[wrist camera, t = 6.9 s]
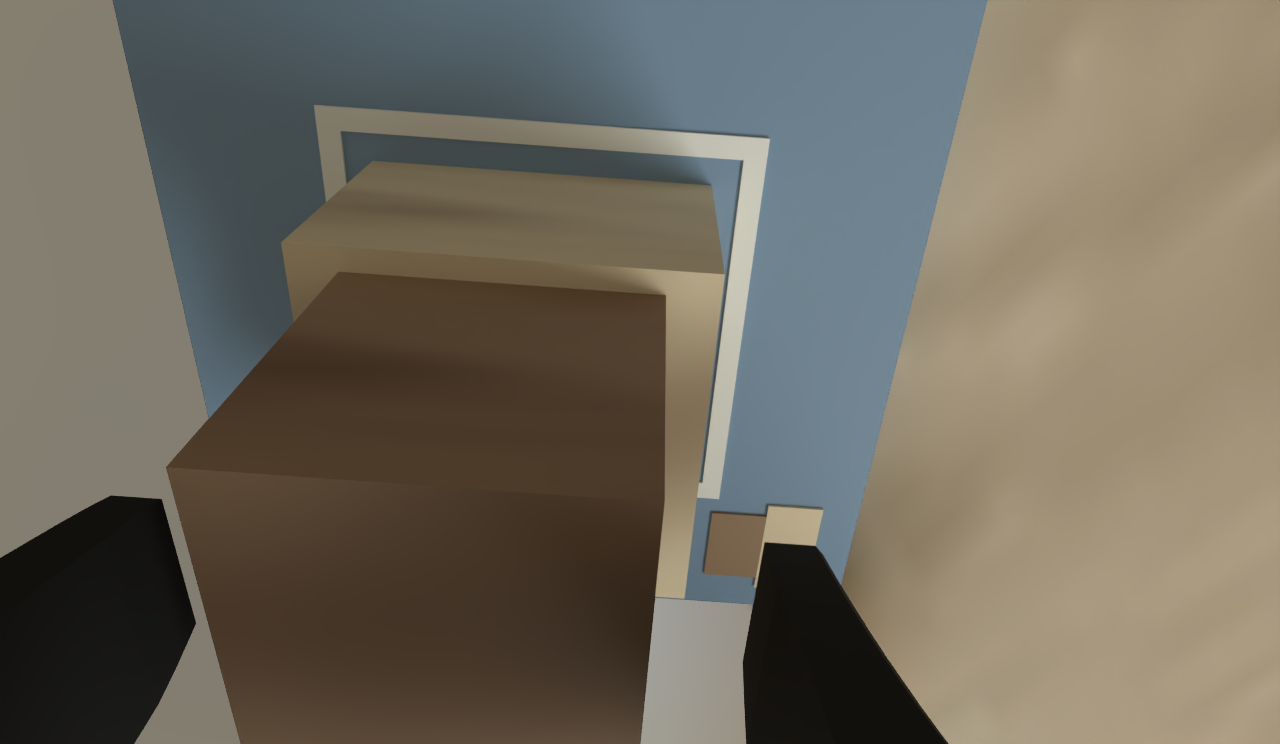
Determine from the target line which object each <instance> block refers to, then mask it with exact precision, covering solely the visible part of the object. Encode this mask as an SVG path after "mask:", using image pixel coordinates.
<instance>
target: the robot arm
mask: <svg viewBox="0 0 1280 744" xmlns="http://www.w3.org/2000/svg"><path fill="white" fill-rule="evenodd" d="M195 624H196V622H195V618H194V614H193V611H192V607H191V604H190V600H189V597H188V592H187V589H186V586H185V582H184V578H183V574H182V571H181V567H180V564H179V560H178V556H177V553H176V549H175V546H174V542H173V539H172V535H171V531H170V528H169V524H168V520H167V517H166V513H165V509H164V506H163V502H162V499H152V498H138V497H123V496H109V497H107V498H105V499H103V500H101V501H100V502H97V503H96V504H94V505H92V506H90V507H88V508H86V509H84V510H82V511H81V512H79V513H77V514H75V515H73V516H72V517H70V518H68V519H66V520H65V521H63V522H61V523H59V524H58V525H56V526H54V527H53V528H51V529H49V530H47V531H46V532H44V533H42V534H40V535H39V536H37V537H35V538H34V539H32V540H30V541H29V542H27V543H25V544H23V545H22V546H20V547H19V548H17V549H15V550H13V551H12V552H10V553H8V554H6V555H5V556H3V557H1V558H0V744H134V743H135V741H136V739H137V738H138V737H139V735H140V733H141V732H142V730H143V729H144V727H145V725H146V724H147V722H148V720H149V719H150V717H151V715H152V714H153V712H154V710H155V709H156V707H157V706H158V704H159V702H160V700H161V698H162V696H163V694H164V692H165V690H166V688H167V686H168V683H169V681H170V679H171V677H172V675H173V673H174V671H175V669H176V667H177V665H178V662H179V660H180V658H181V656H182V654H183V651H184V649H185V647H186V645H187V642H188V640H189V638H190V636H191V633H192V631H193V629H194V627H195ZM743 679H744V704H745V705H744V706H745V727H746V744H948V743H947V741H946V740H945V739H944V737H943V736H942V735H941V733H940V732H939V731H938V729H937V728H936V727H935V725H934V724H933V723H932V721H931V720H930V718H929V717H928V716H927V714H926V713H925V712H924V710H923V709H922V708H921V706H920V705H919V703H918V702H917V700H916V699H915V698H914V696H913V695H912V693H911V692H910V690H909V689H908V687H907V686H906V685H905V683H904V682H903V680H902V679H901V677H900V676H899V675H898V673H897V672H896V670H895V669H894V667H893V666H892V664H891V663H890V662H889V660H888V659H887V657H886V656H885V654H884V653H883V651H882V650H881V648H880V647H879V645H878V644H877V642H876V641H875V639H874V637H873V636H872V634H871V633H870V631H869V630H868V628H867V627H866V625H865V623H864V622H863V620H862V619H861V617H860V615H859V614H858V612H857V611H856V609H855V608H854V606H853V604H852V603H851V601H850V599H849V598H848V596H847V595H846V593H845V591H844V590H843V588H842V586H841V585H840V583H839V581H838V579H837V578H836V576H835V574H834V573H833V571H832V569H831V568H830V566H829V564H828V562H827V561H826V559H825V557H824V555H823V554H822V553H821V552H820V550H819V549H818V548H817V547H816V546H811V545H797V544H783V543H769V542H764V548H763V554H762V559H761V565H760V570H759V576H758V581H757V587H756V592H755V598H754V603H753V609H752V614H751V620H750V626H749V631H748V636H747V642H746V647H745V653H744V659H743Z"/></svg>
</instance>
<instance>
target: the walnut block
mask: <svg viewBox="0 0 1280 744" xmlns="http://www.w3.org/2000/svg"><path fill="white" fill-rule="evenodd" d="M665 381H666V295H655V294H641V293H627V292H613V291H599V290H585V289H571V288H558V287H544V286H530V285H516V284H502V283H488V282H474V281H460V280H446V279H433V278H419V277H405V276H391V275H377V274H363V273H349V272H338V273H337V274H336V275H335V276H334V277H333V278H332V280H331V281H330V282H329V283H328V284H327V285H326V286H325V288H324V289H323V290H322V291H321V292H320V293H319V294H318V295H317V297H316V298H315V299H314V300H313V301H312V302H311V303H310V305H309V306H308V307H307V308H306V309H305V310H304V311H303V312H302V314H301V315H300V316H299V317H298V318H297V319H296V320H295V322H294V323H293V324H292V325H291V326H290V327H289V328H288V330H287V331H286V332H285V333H284V334H283V335H282V336H281V337H280V339H279V340H278V341H277V342H276V343H275V344H274V345H273V347H272V348H271V349H270V350H269V351H268V352H267V353H266V354H265V356H264V357H263V358H262V359H261V360H260V361H259V362H258V364H257V365H256V366H255V367H254V368H253V369H252V370H251V371H250V373H249V374H248V375H247V376H246V377H245V378H244V379H243V381H242V382H241V383H240V384H239V385H238V386H237V387H236V389H235V390H234V391H233V392H232V393H231V394H230V395H229V396H228V398H227V399H226V400H225V401H224V402H223V403H222V404H221V406H220V407H219V408H218V409H217V410H216V411H215V412H214V413H213V415H212V416H211V417H210V418H209V419H208V420H207V421H206V423H205V424H204V425H203V426H202V427H201V428H200V429H199V430H198V432H197V433H196V434H195V435H194V436H193V437H192V438H191V440H190V441H189V442H188V443H187V444H186V445H185V446H184V448H183V449H182V450H181V451H180V452H179V453H178V454H177V455H176V457H175V458H174V459H173V460H172V461H171V462H170V464H169V465H168V466H167V467H166V469H167V472H168V476H169V480H170V484H171V487H172V491H173V495H174V499H175V502H176V506H177V510H178V513H179V517H180V521H181V524H182V528H183V532H184V535H185V539H186V542H187V546H188V550H189V554H190V558H191V562H192V565H193V569H194V573H195V576H196V580H197V584H198V587H199V591H200V595H201V598H202V602H203V606H204V609H205V613H206V617H207V621H208V624H209V628H210V632H211V636H212V639H213V643H214V647H215V650H216V654H217V658H218V662H219V665H220V669H221V673H222V676H223V680H224V684H225V687H226V691H227V695H228V699H229V702H230V706H231V709H232V713H233V717H234V721H235V725H236V728H237V732H238V735H239V739H240V743H241V744H640V741H641V731H642V722H643V711H644V702H645V692H646V681H647V672H648V662H649V652H650V642H651V633H652V622H653V613H654V602H655V593H656V583H657V573H658V563H659V553H660V544H661V534H662V524H663V514H664V504H665Z"/></svg>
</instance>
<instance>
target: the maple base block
mask: <svg viewBox="0 0 1280 744" xmlns="http://www.w3.org/2000/svg"><path fill="white" fill-rule="evenodd" d="M281 246H282V252H283V259H284V265H285V271H286V278H287V284H288V290H289V296H290V303H291V309H292V315H293V322H295V320H296V319H297V318H298V317H299V316H300V315H301V314H302V312H303V311H304V310H305V309H306V308H307V307H308V306H309V305H310V303H311V302H312V301H313V300H314V299H315V298H316V297H317V295H318V294H319V293H320V292H321V291H322V290H323V289H324V288H325V286H326V285H327V284H328V283H329V282H330V281H331V280H332V278H333V277H334V276H335V275H336V274H337V273H338V272H349V273H363V274H377V275H391V276H405V277H419V278H433V279H446V280H460V281H474V282H488V283H502V284H516V285H530V286H544V287H558V288H571V289H585V290H599V291H613V292H627V293H641V294H655V295H666V381H665V504H664V514H663V524H662V534H661V544H660V553H659V563H658V573H657V583H656V593H655V597H667V598H681V599H684V598H685V590H686V582H687V574H688V566H689V558H690V550H691V542H692V534H693V526H694V518H695V510H696V502H697V494H698V486H699V478H700V470H701V462H702V454H703V446H704V438H705V430H706V422H707V414H708V406H709V398H710V390H711V382H712V374H713V366H714V358H715V350H716V342H717V334H718V326H719V318H720V310H721V302H722V294H723V286H724V278H725V272H724V265H723V258H722V251H721V245H720V238H719V231H718V224H717V218H716V211H715V204H714V197H713V191H712V185H699V184H685V183H672V182H658V181H644V180H630V179H617V178H603V177H589V176H575V175H562V174H548V173H534V172H520V171H507V170H493V169H479V168H465V167H452V166H438V165H424V164H410V163H397V162H383V161H372V162H371V163H370V164H368V165H367V166H366V167H365V168H364V169H363V170H362V171H361V172H360V173H358V174H357V175H356V176H355V177H354V178H353V179H352V180H351V181H349V182H348V183H347V184H346V185H345V186H344V187H343V188H342V189H340V190H339V191H338V192H337V193H336V194H335V195H334V196H333V197H331V198H330V199H329V200H328V201H327V202H326V203H325V204H324V205H322V206H321V207H320V208H319V209H318V210H317V211H316V212H315V213H313V214H312V215H311V216H310V217H309V218H308V219H307V220H306V221H305V222H303V223H302V224H301V225H300V226H299V227H298V228H297V229H296V230H294V231H293V232H292V233H291V234H290V235H289V236H288V237H287V238H285V239H284V240H283V241H282V242H281Z"/></svg>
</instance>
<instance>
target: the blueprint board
mask: <svg viewBox="0 0 1280 744" xmlns="http://www.w3.org/2000/svg"><path fill="white" fill-rule="evenodd" d="M986 3H987V0H113V4H114V8H115V12H116V17H117V21H118V26H119V30H120V34H121V39H122V43H123V47H124V51H125V56H126V61H127V64H128V69H129V74H130V78H131V82H132V87H133V91H134V95H135V100H136V104H137V108H138V113H139V117H140V121H141V126H142V130H143V134H144V139H145V143H146V147H147V151H148V156H149V161H150V165H151V169H152V174H153V178H154V182H155V186H156V191H157V195H158V199H159V204H160V208H161V213H162V217H163V221H164V226H165V230H166V234H167V238H168V243H169V247H170V252H171V256H172V261H173V265H174V269H175V273H176V278H177V282H178V287H179V291H180V295H181V299H182V304H183V308H184V313H185V317H186V321H187V326H188V330H189V334H190V339H191V343H192V347H193V352H194V356H195V360H196V365H197V369H198V373H199V378H200V382H201V387H202V391H203V395H204V399H205V404H206V408H207V413H208V417H209V418H210V417H211V416H212V415H213V413H214V412H215V411H216V410H217V409H218V408H219V407H220V406H221V404H222V403H223V402H224V401H225V400H226V399H227V398H228V396H229V395H230V394H231V393H232V392H233V391H234V390H235V389H236V387H237V386H238V385H239V384H240V383H241V382H242V381H243V379H244V378H245V377H246V376H247V375H248V374H249V373H250V371H251V370H252V369H253V368H254V367H255V366H256V365H257V364H258V362H259V361H260V360H261V359H262V358H263V357H264V356H265V354H266V353H267V352H268V351H269V350H270V349H271V348H272V347H273V345H274V344H275V343H276V342H277V341H278V340H279V339H280V337H281V336H282V335H283V334H284V333H285V332H286V331H287V330H288V328H289V327H290V326H291V325H292V324H293V323H294V322H293V315H292V309H291V303H290V296H289V290H288V284H287V278H286V271H285V265H284V259H283V252H282V246H281V242H282V241H283V240H284V239H285V238H287V237H288V236H289V235H290V234H291V233H292V232H293V231H294V230H296V229H297V228H298V227H299V226H300V225H301V224H302V223H303V222H305V221H306V220H307V219H308V218H309V217H310V216H311V215H312V214H313V213H315V212H316V211H317V210H318V209H319V208H320V207H321V206H322V205H324V204H325V203H326V202H327V201H328V200H329V199H330V198H331V197H333V196H334V195H335V194H336V193H337V192H338V191H339V190H340V189H342V188H343V187H344V186H345V185H346V184H347V183H348V182H349V181H351V180H352V179H353V178H354V177H355V176H356V175H357V174H358V173H360V172H361V171H362V170H363V169H364V168H365V167H366V166H367V165H368V164H370V163H371V162H372V161H383V162H397V163H410V164H424V165H438V166H452V167H465V168H479V169H493V170H507V171H520V172H534V173H548V174H562V175H575V176H589V177H603V178H617V179H630V180H644V181H658V182H672V183H685V184H699V185H712V191H713V197H714V204H715V211H716V218H717V224H718V231H719V238H720V245H721V251H722V258H723V265H724V272H725V278H724V286H723V294H722V302H721V310H720V318H719V326H718V334H717V342H716V350H715V358H714V366H713V374H712V382H711V390H710V398H709V406H708V414H707V422H706V430H705V438H704V446H703V454H702V462H701V470H700V478H699V486H698V494H697V502H696V510H695V518H694V526H693V534H692V542H691V550H690V558H689V566H688V574H687V582H686V590H685V598H684V600H697V601H711V602H727V603H740V604H753V603H754V598H755V592H756V587H757V581H758V576H759V570H760V565H761V559H762V554H763V548H764V542H769V543H783V544H797V545H811V546H816V547H817V548H818V549H819V550H820V552H821V553H822V554H823V555H824V557H825V559H826V561H827V562H828V564H829V566H830V568H831V569H832V571H833V573H834V574H835V576H836V578H837V579H838V581H839V583H840V585H841V583H842V579H843V575H844V571H845V567H846V563H847V559H848V555H849V551H850V547H851V543H852V539H853V535H854V531H855V527H856V523H857V519H858V515H859V511H860V507H861V503H862V499H863V495H864V491H865V487H866V483H867V479H868V475H869V471H870V467H871V463H872V459H873V455H874V451H875V447H876V443H877V439H878V435H879V431H880V427H881V423H882V419H883V415H884V411H885V407H886V403H887V399H888V395H889V391H890V387H891V383H892V379H893V375H894V371H895V367H896V363H897V359H898V355H899V351H900V347H901V343H902V339H903V335H904V331H905V327H906V323H907V319H908V315H909V311H910V307H911V303H912V299H913V295H914V291H915V287H916V283H917V279H918V275H919V271H920V267H921V263H922V259H923V255H924V251H925V247H926V243H927V239H928V235H929V231H930V227H931V223H932V219H933V215H934V211H935V207H936V203H937V199H938V195H939V191H940V187H941V183H942V179H943V175H944V171H945V167H946V163H947V159H948V155H949V151H950V147H951V143H952V139H953V135H954V131H955V127H956V123H957V119H958V115H959V111H960V107H961V103H962V99H963V95H964V91H965V87H966V83H967V79H968V75H969V71H970V67H971V63H972V59H973V55H974V51H975V47H976V43H977V39H978V35H979V31H980V27H981V23H982V19H983V15H984V11H985V7H986ZM655 598H667V597H655ZM668 599H681V598H668Z"/></svg>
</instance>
